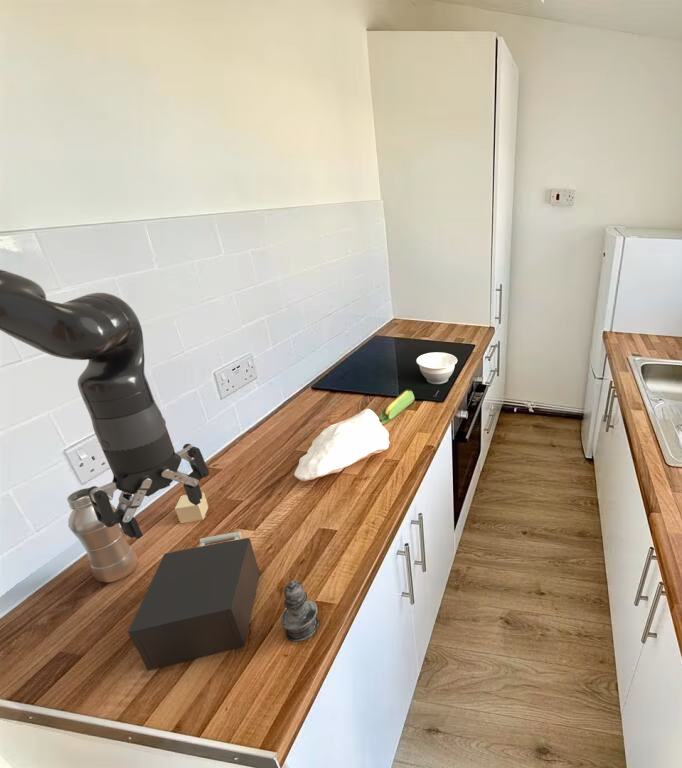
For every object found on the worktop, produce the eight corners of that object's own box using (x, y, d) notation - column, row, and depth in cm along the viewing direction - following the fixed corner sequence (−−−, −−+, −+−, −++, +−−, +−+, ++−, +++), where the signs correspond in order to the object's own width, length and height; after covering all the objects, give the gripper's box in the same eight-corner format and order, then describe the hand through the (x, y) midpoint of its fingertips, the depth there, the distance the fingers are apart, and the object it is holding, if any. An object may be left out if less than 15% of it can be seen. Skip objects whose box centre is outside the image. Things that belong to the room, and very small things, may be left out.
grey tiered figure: (283, 620, 79) (271, 573, 74) (318, 607, 81) (308, 562, 76) (285, 648, 74) (271, 601, 69) (321, 634, 77) (311, 588, 72)
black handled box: (179, 590, 83) (164, 553, 79) (260, 573, 88) (249, 537, 83) (148, 671, 70) (127, 632, 66) (244, 646, 74) (231, 608, 70)
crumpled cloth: (411, 427, 137) (405, 401, 134) (357, 498, 106) (347, 467, 103) (345, 427, 142) (338, 402, 139) (274, 495, 111) (262, 465, 107)
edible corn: (418, 400, 157) (417, 389, 155) (388, 427, 139) (387, 415, 137) (405, 397, 158) (404, 386, 156) (374, 424, 141) (373, 412, 139)
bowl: (449, 390, 165) (448, 370, 161) (410, 384, 168) (409, 364, 164) (462, 374, 179) (462, 355, 175) (427, 368, 182) (426, 350, 178)
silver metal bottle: (89, 581, 84) (45, 502, 75) (126, 555, 90) (90, 479, 81) (111, 591, 82) (70, 511, 73) (148, 564, 88) (114, 487, 79)
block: (180, 523, 98) (174, 508, 96) (186, 510, 102) (181, 495, 100) (203, 519, 100) (198, 504, 98) (208, 506, 104) (203, 492, 102)
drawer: (192, 559, 89) (181, 531, 85) (261, 546, 92) (253, 518, 89) (156, 652, 72) (140, 621, 68) (242, 631, 76) (231, 600, 72)
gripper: (172, 406, 70) (199, 486, 77) (57, 450, 58) (101, 538, 65) (200, 419, 67) (225, 500, 74) (85, 467, 55) (128, 558, 62)
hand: (167, 518), depth 70 cm, fingers open, 8 cm apart
